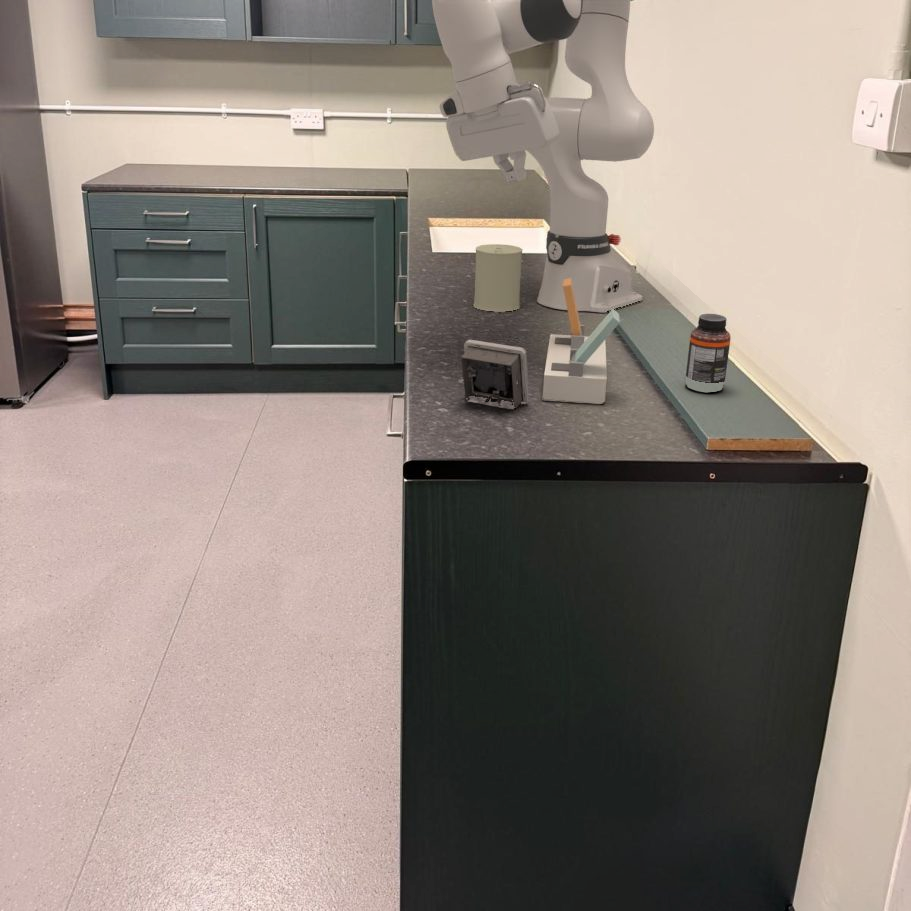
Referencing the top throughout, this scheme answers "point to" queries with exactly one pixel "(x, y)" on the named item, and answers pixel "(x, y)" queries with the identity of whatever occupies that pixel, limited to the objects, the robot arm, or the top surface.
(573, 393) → the white switch base
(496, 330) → the top surface
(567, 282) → the rocker orange
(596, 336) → the rocker teal
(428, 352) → the top surface
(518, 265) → the can
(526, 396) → the electrical switch
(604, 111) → the robot arm
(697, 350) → the supplement bottle
